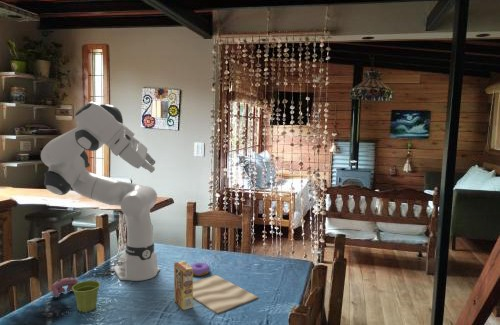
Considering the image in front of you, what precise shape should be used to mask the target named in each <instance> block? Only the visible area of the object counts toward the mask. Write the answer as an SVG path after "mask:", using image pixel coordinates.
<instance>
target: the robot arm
mask: <svg viewBox="0 0 500 325" xmlns="http://www.w3.org/2000/svg"><path fill="white" fill-rule="evenodd" d="M74 118H75V120H76V123H77V126H76V127H75V128H72V129H71V130H69V131H66V132H65V133H62V134H61V135H58V136H57V137H55V138H53V139H51V140H50V141H49V142H47V143H46V145H45V146H44V147H43V148H42V150H41V152H40V159H41V161H42V164H44V165H45V166H47V167H48V170H47V172H46V171H45V172H44V180H43V185H44V188H45V189H46V190H48V191H49V192H50V193H51V194H54V195H58V196H63V195H64V196H65V195H67V194H68V193H69V192H70V191H71V189H72V191H74V192H75V193H77V194H78V195H80V196H82V197H85V198H88V199H90V200H93V201H96V202H100V203H103V204H106V205H109V206H118V207H120V209H121V212H122V214H123V216H124V219H125V223H126V236H127V238H126V241H127V243H126V244H125V250H124V253H122V254H121V255H120V256H119V257H118V258H119V260H117V262H116V264H117V265H115V266H114V267H113V271H114V272H115V274H116V276H117V278H118V279H119V280H120V281H136V282H137V281H147V280H149V279H153V278H154V277H156V276H157V274H158V272H160V270H161V268H160V267H159V266H158V256H157V253H156V252H155V243H154V224H152V220H151V215H150V213H151V209H153V207H154V206H155V205H156V203H157V199H158V193H157V192H156V190H155V189H154V188H153V187H151V186H147V185H140V184H136V183H131V182H127V181H121V180H117V179H114V178H111V177H108V176H107V177H106V176H104V175H100V174H97V173H93V172H91V171H89V170H87V168H89V167H90V166H91V164H90V162H89V156H88V154H87V152H86V151H89V152H94V151H98V150H99V149H101V148H102V147H103V145H105V146H106V147H107V148H109V149H110V150H111V153H112V154H113V155H114V156H115V157H118V156H119V157H120V158H121V159H122V160H123V161H124V162H126V163H128V164H129V165H130V166H132V167H133V168H135V169H140V168H143V169H144V170H147V171H148V172H149V173H150V174H151V173H154V171H155V169H156V168H155V166H154V165H155V164H156V160H155V159H154V158H153V157H152V156H151V155H150V153H148V147H147V146H145V145H144V144H143V143H142V142H140V140H138V139H137V138H136V137H134V136H135V135H136V134H135V133H134V132H133V131H132V130H131V129H130V128H128V127H127V126H126V125H124V124H123V123H124V120H123V116H122V113H121V111H120V110H119V108H118V107H116V106H115V105H112V104H104V103H103V104H98V103H97V102H94V101H89V102H87V103H85V104H84V105H83V106H82V107H80V108H79V109H78V110H77V111H76V112H75V115H74Z"/></svg>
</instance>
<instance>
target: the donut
mask: <svg viewBox="0 0 500 325" xmlns="http://www.w3.org/2000/svg"><path fill="white" fill-rule="evenodd" d="M190 266H191V267H192V268H193V277H194V276H195V277H203V276H206V275H207V274H208V273H210V270H211V268H210V266H209V264H208V263H206V262H196V263H192V264H190Z"/></svg>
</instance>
